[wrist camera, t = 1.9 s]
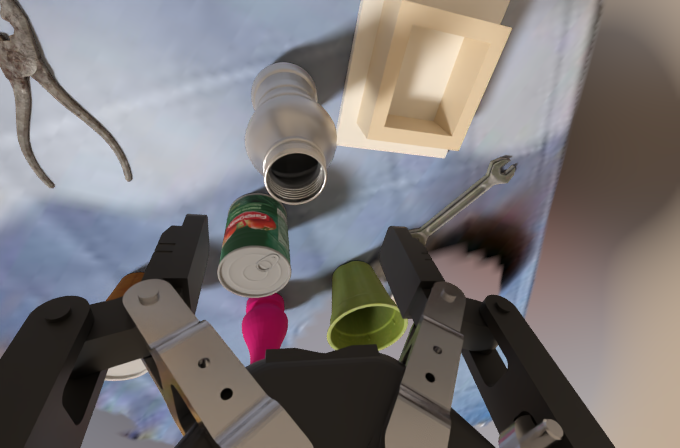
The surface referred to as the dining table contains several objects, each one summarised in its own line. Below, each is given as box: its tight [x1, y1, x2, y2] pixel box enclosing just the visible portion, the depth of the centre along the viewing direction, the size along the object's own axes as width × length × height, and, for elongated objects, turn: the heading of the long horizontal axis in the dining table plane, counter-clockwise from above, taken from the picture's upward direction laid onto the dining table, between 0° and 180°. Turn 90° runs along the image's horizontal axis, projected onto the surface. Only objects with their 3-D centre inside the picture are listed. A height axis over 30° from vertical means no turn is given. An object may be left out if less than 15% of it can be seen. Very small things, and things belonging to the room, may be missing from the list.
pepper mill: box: [242, 293, 288, 364], centre depth 46 cm, size 7×7×20 cm
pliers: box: [0, 0, 132, 188], centre depth 30 cm, size 10×1×20 cm
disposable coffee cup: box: [105, 272, 148, 381], centre depth 42 cm, size 10×10×12 cm
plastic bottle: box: [245, 62, 337, 205], centre depth 26 cm, size 6×7×20 cm
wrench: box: [408, 157, 515, 246], centre depth 48 cm, size 5×20×1 cm, turn 135°
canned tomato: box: [217, 193, 291, 298], centre depth 39 cm, size 8×8×11 cm
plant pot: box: [327, 261, 408, 351], centre depth 49 cm, size 12×12×11 cm
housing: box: [336, 0, 512, 158], centre depth 33 cm, size 18×15×6 cm
